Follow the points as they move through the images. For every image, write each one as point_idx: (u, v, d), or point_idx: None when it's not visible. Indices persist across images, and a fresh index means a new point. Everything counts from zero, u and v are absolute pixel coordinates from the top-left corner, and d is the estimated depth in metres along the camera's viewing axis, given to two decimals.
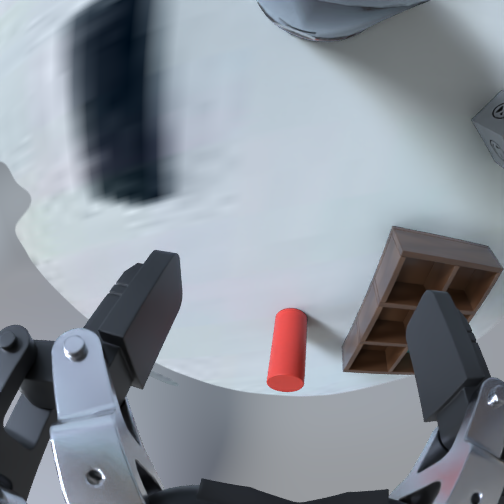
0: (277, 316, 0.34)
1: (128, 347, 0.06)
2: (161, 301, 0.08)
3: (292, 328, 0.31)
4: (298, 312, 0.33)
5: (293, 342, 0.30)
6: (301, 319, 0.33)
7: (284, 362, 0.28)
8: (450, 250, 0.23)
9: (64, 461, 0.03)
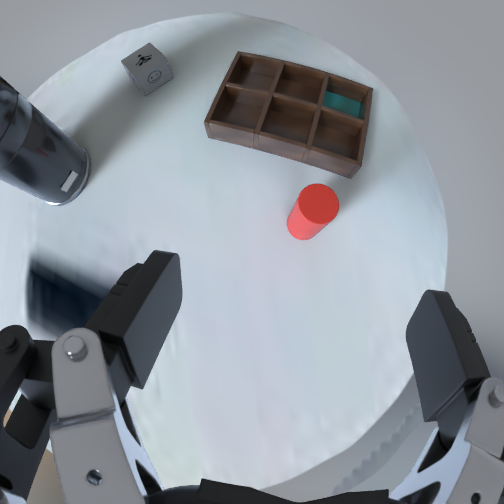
0: (293, 235, 0.34)
1: (128, 347, 0.06)
2: (161, 301, 0.08)
3: (290, 213, 0.32)
4: None
5: None
6: None
7: (295, 206, 0.27)
8: None
9: (64, 461, 0.03)
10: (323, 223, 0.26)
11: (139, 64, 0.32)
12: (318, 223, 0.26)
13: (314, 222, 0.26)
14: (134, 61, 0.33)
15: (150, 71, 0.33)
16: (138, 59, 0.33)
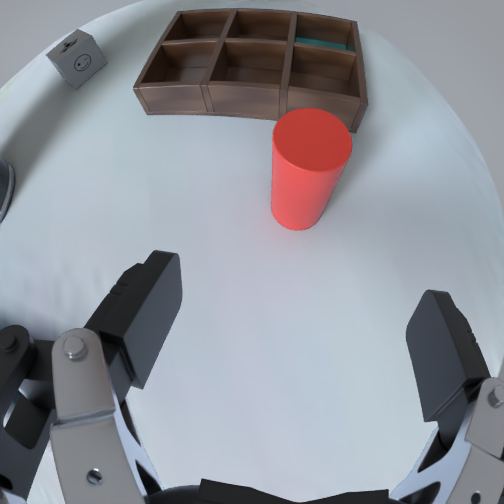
0: (284, 224, 0.21)
1: (128, 347, 0.06)
2: (161, 301, 0.08)
3: None
4: None
5: None
6: None
7: (272, 156, 0.14)
8: None
9: (64, 461, 0.03)
10: (329, 170, 0.13)
11: (63, 51, 0.22)
12: (320, 171, 0.13)
13: (311, 170, 0.13)
14: (59, 50, 0.22)
15: (76, 56, 0.23)
16: (63, 47, 0.22)
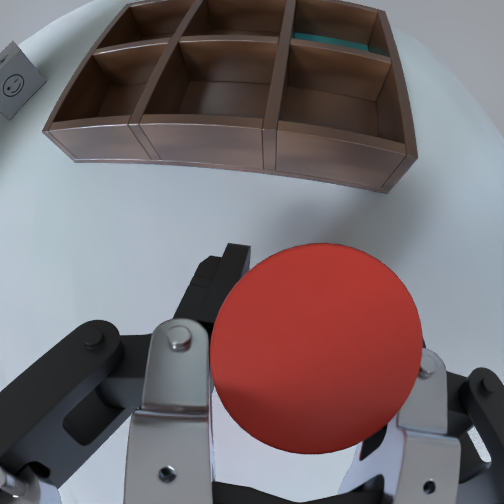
0: None
1: None
2: None
3: None
4: None
5: None
6: None
7: None
8: None
9: (138, 451, 0.03)
10: (352, 442, 0.04)
11: None
12: (327, 449, 0.04)
13: (307, 450, 0.04)
14: None
15: (3, 78, 0.14)
16: None
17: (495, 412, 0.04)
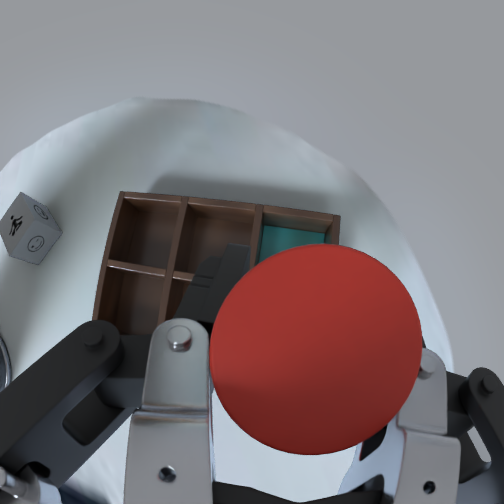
0: None
1: None
2: None
3: None
4: None
5: None
6: None
7: None
8: None
9: (138, 451, 0.03)
10: (351, 442, 0.04)
11: (12, 233, 0.23)
12: (327, 450, 0.04)
13: (306, 451, 0.04)
14: (8, 227, 0.23)
15: (26, 242, 0.24)
16: (11, 224, 0.23)
17: (495, 412, 0.04)
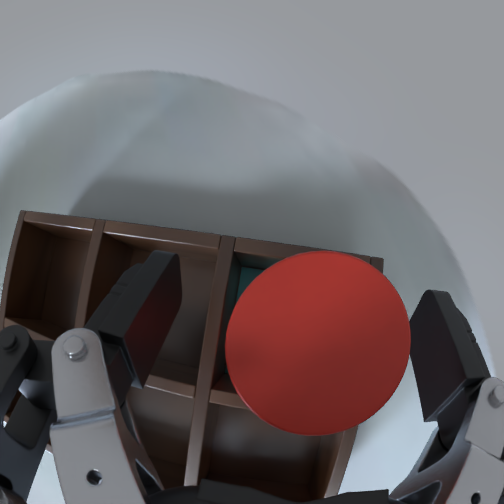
0: None
1: (128, 347, 0.06)
2: (161, 301, 0.08)
3: None
4: None
5: None
6: None
7: None
8: None
9: (64, 461, 0.03)
10: (349, 425, 0.05)
11: None
12: (327, 431, 0.05)
13: (309, 432, 0.05)
14: None
15: None
16: None
17: None
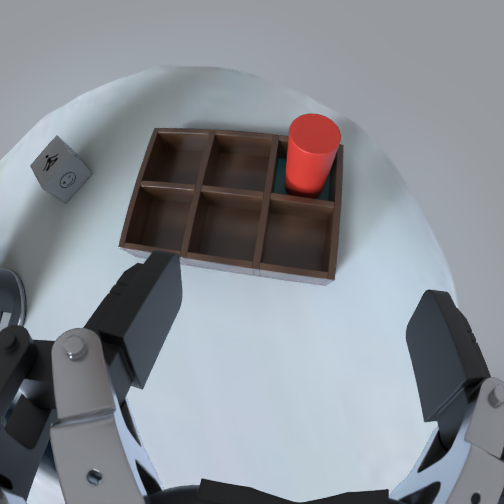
0: None
1: (128, 347, 0.06)
2: (161, 301, 0.08)
3: None
4: None
5: None
6: None
7: (288, 145, 0.21)
8: None
9: (64, 461, 0.03)
10: (326, 153, 0.20)
11: (46, 168, 0.27)
12: (319, 154, 0.20)
13: (314, 153, 0.20)
14: (42, 165, 0.27)
15: (59, 176, 0.27)
16: (45, 162, 0.27)
17: None
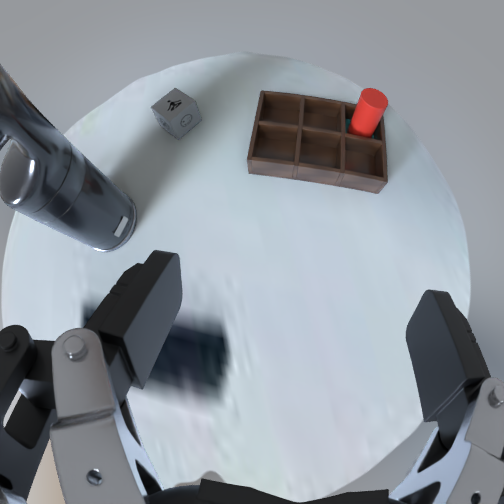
0: None
1: (128, 347, 0.06)
2: (161, 301, 0.08)
3: (351, 120, 0.38)
4: (348, 127, 0.41)
5: (354, 111, 0.37)
6: None
7: (359, 104, 0.34)
8: None
9: (64, 461, 0.03)
10: (381, 108, 0.32)
11: (171, 109, 0.39)
12: (378, 108, 0.32)
13: (376, 107, 0.32)
14: (165, 106, 0.39)
15: (183, 115, 0.40)
16: (168, 104, 0.39)
17: None
